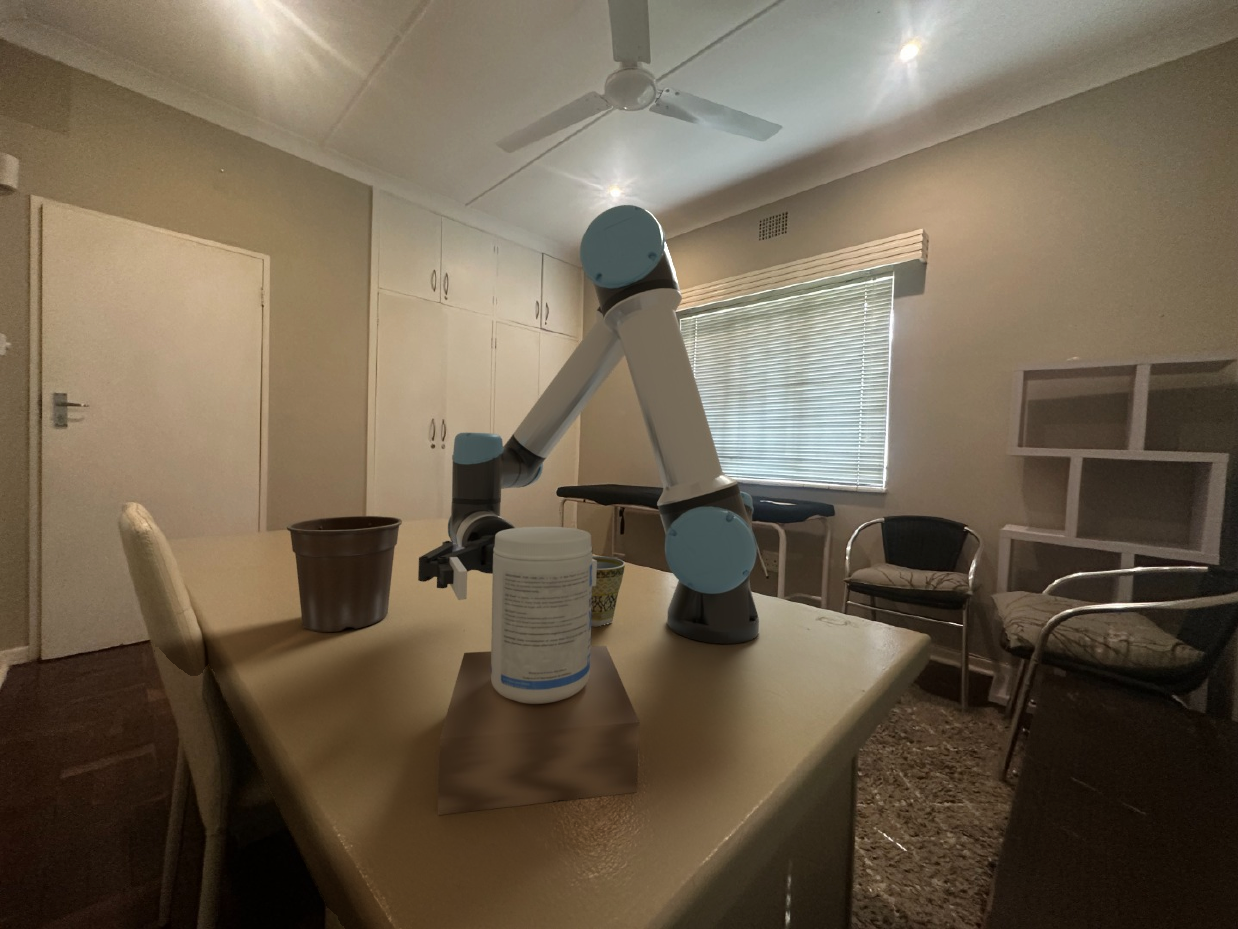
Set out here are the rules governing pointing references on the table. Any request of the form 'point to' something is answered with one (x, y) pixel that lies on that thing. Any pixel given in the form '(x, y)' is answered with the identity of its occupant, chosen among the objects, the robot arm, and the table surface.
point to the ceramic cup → (606, 589)
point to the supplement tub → (541, 613)
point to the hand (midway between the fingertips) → (532, 579)
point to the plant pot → (344, 570)
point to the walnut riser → (536, 742)
